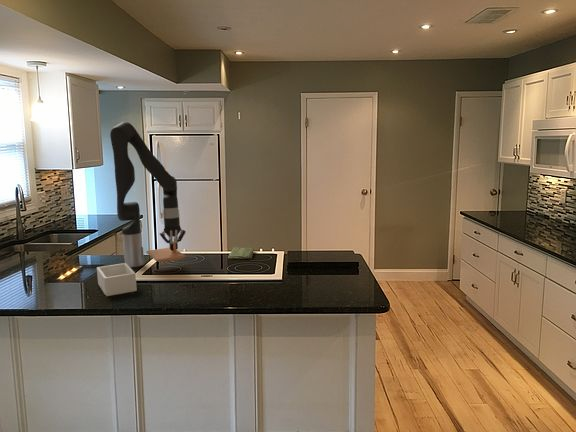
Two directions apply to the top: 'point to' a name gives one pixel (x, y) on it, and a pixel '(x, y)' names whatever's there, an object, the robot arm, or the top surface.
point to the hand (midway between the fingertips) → (173, 250)
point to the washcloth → (241, 253)
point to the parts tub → (116, 279)
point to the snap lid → (166, 254)
